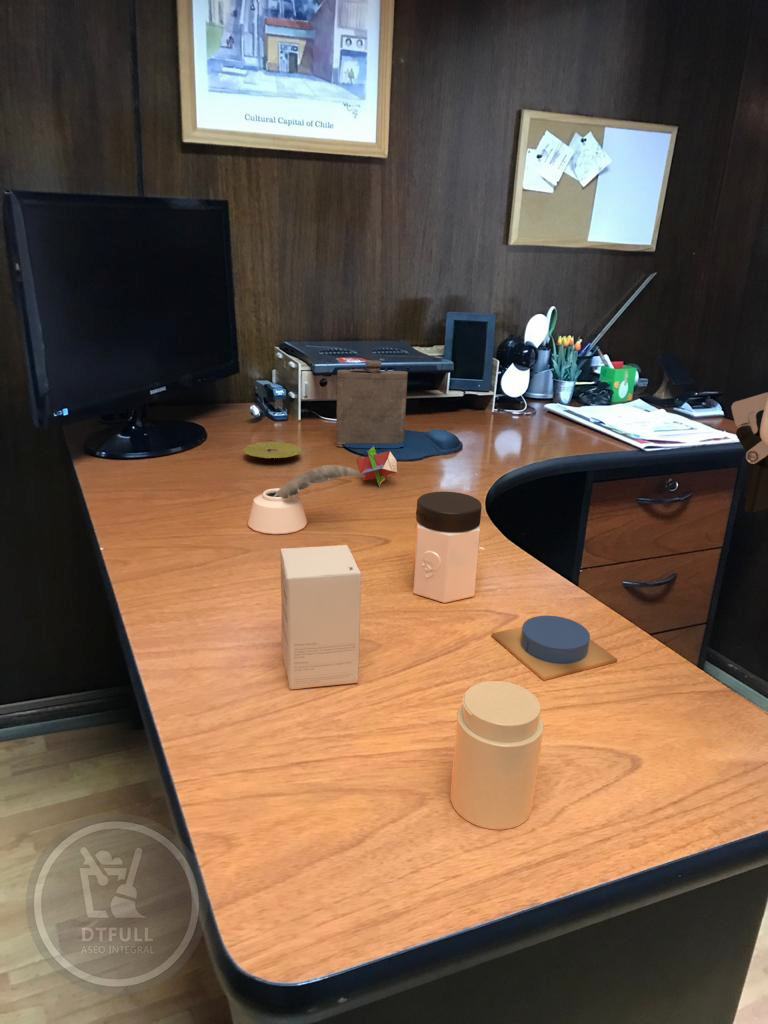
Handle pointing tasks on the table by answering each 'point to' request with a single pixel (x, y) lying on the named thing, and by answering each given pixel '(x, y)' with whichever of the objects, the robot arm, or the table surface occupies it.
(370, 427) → the flask
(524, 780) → the jam jar
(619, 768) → the table surface
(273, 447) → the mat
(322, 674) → the white packaging box
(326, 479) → the inkwell
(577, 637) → the lid
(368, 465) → the geometric puzzle
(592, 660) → the coaster
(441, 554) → the jar
